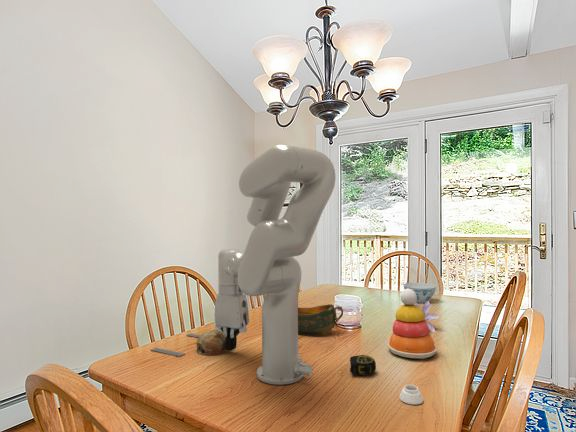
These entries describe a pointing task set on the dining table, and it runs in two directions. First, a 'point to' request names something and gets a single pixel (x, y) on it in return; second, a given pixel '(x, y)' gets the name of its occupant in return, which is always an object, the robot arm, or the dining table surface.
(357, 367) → the tape measure
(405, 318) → the stacking toy
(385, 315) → the dining table surface
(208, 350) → the bread roll
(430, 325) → the water lily
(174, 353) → the strip
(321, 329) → the creamer
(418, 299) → the chinaware
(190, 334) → the bay strip right
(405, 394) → the white jar
